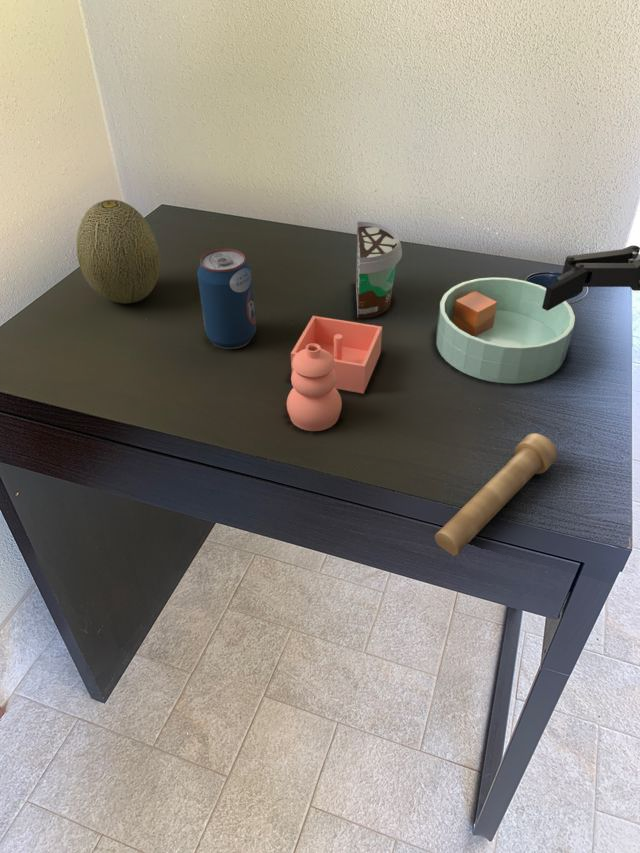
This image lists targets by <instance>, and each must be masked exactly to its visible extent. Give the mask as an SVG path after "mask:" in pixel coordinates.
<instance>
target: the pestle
mask: <svg viewBox="0 0 640 853" xmlns="http://www.w3.org/2000/svg"><path fill="white" fill-rule="evenodd" d="M557 459H558V450H557V448H556V446H555V444H554V443H553V442H552V441H551V440H550V439H549V438H548V437H546V436H544V435H542V434H540V433H536V432H535V433H529V434H527V435H526V436H525V437H524V438H523V439H522V440H521V441H520V442H519V443H518V444H516V446H515V449H514V456H513V457H512V458H510V460H509V461H508V462H506V464H505V465H504V466H503V467H502V468H501V469H500V470H499V471H498V472H497V473H496V474H495V475H494V476H493V477H492V478H490V479H489V480H488V482H487V483H485V484H484V486H483V487H482V488H481V489H480V490H478V492H477V493H475V494H474V496H472V498H471V499H469V501H467V502H466V503H465V504H464V506H462V507H461V508H460V509H459V511H457V512H456V513H455V514H454V515H453V516H452V517H451V518H450V519H449V520H448V521H447V522H446V523H445V524H444V525H443V526H442V527H441V528H440V529H439V530H438V531H437V532H436V533H435V535H434V539H435V540H434V541H435V543H436V545H437V546H438V547H440V548H441V549H443V550H444V551H446V552H447V553H449V554H450V555H451V556H454V557H455V556H457V555H458V554H460V552H462V551H463V550H464V548H465V547H466V546H467V545H468V544H469V543H470V542H471V541H472V540H473V539H474V538H475V537H476V536H477V535H478V534H479V533H480V532H481V530H483V529H484V528H485V526H486V525H488V524H489V522H490V521H491V520H492V519H493V518H494V517H495V516H496V515H497V514H498V513H499V512H500V511H501V510H502V509H503V508H504V507H505V506H506V505H507V504H508V503H509V501H510V500H511V499H512V498H513V497H514V496H515V495H516V494H518V492H519V491H520V490H521V489H522V488H523V487H524V486H525V485H526V484H527V483H528V482H529V481H530V480H531V479H532V477H533V476H534V475H541V474H544V473H545V472H546V471H547V470H548V469H549V468H550V467H551V466H552V465H553V464H554V463H555V462H556V461H557Z"/></svg>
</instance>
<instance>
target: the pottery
mask: <svg viewBox="0 0 640 853" xmlns="http://www.w3.org/2000/svg"><path fill="white" fill-rule="evenodd" d="M382 337H383V326H382V325H381V326H379V325H375V324H368V323H362V322H356V321H349V320H342V319H338V318H337V319H336V318H329V317H324V316H317V315H312V317H311V318H310V320H309V321H308V323H307V325H306V327H305V329H304V330H303V331H302V333H301V335H300V337H299V338H298V340H297V342H296V344H295V345H294V347H293V349H292V351H291V352H290V367H291V368H290V369H291V377H290V381H291V386H292V389H291V390H290V392H289V393H288V396H287V398H286V410H287V413H288V416H289V418H290V422H292V424H293V425H294V426H295V427H297V428H298V429H301V430H304V431H309V432H321V431H325V430H327V429H329V428H332V427H333V426H334V425H336V423H337V422H338V420H339V418H340V415H341V411H342V408H343V401H342V396H341V395H340V393H339V390H342V391H347V392H353V393H358V394H365V392H366V389H367V387H368V384H369V382H370V380H371V377H372V375H373V373H374V370H375V367H376V365H377V364H378V360H379V358H380V355H381V352H382Z"/></svg>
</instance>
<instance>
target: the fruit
mask: <svg viewBox="0 0 640 853" xmlns="http://www.w3.org/2000/svg"><path fill="white" fill-rule="evenodd" d="M156 239H157V238H156V237H155V234H154V231H153V230H152V228H151V226H150V224H149V223H148V221H147V219H145V217H144V216H143V214H141V213H140V212H139V211H138V210H137V209H136V208H134V207H133V206H131V205H130V204H129V203H126V202H125V201H122V200H119V199H105V200H102V201H99V202H97V203H95V204H92V206H91V207H89V208H88V210H86V212H85V213H84V215H83V216H82V218H81V220H80V224H79V226H78V230H77V234H76V256H77V261H78V265H79V268H80V271H81V273H82V275H83V278H84V279H85V280H86V282H87V283H88V285H89V286H90V287H91V289H92V290H94V292H96V293H97V294H98V295H99V296H100V297H102V298H104V299H106V300H109V301H111V302H114V303H118V304H133V303H139V302H140V301H142V300H144V299H145V298H146V297H148V296H149V295H150V294H151V293H152V291H153V290H154V288H155V286H156V283H157V282H158V279H159V275H160V273H161V272H160V271H161V254H160V249H159V245H158V242H157V240H156Z"/></svg>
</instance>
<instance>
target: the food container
mask: <svg viewBox="0 0 640 853" xmlns="http://www.w3.org/2000/svg"><path fill="white" fill-rule="evenodd" d="M356 229H357V230H356V234H357V235H356V269H355V270H356V272H355V275H356V276H355V293H356V294H355V295H356V309H357V311H356V312H357V319H368V318H373V317H377V316H379V315H381V314H383V313H384V312H386V311H387V310H388V309H389V308H390V305H391V301H392V295H393V289H394V288H393V287H394V281H395V276H396V275H395V274H396V266H397V264H398V263H399V262H400V260H401V259H402V256H403V250H402V244H401V243H402V242H401V241H400V238H399V235H398V233H396V232H395V231H394V230H393V229H391V227H390V228H389V227H388V226H386V225H383V224H380V223H376V222H371V221H362V220H361V221H360V220H359V221H357V228H356Z"/></svg>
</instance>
